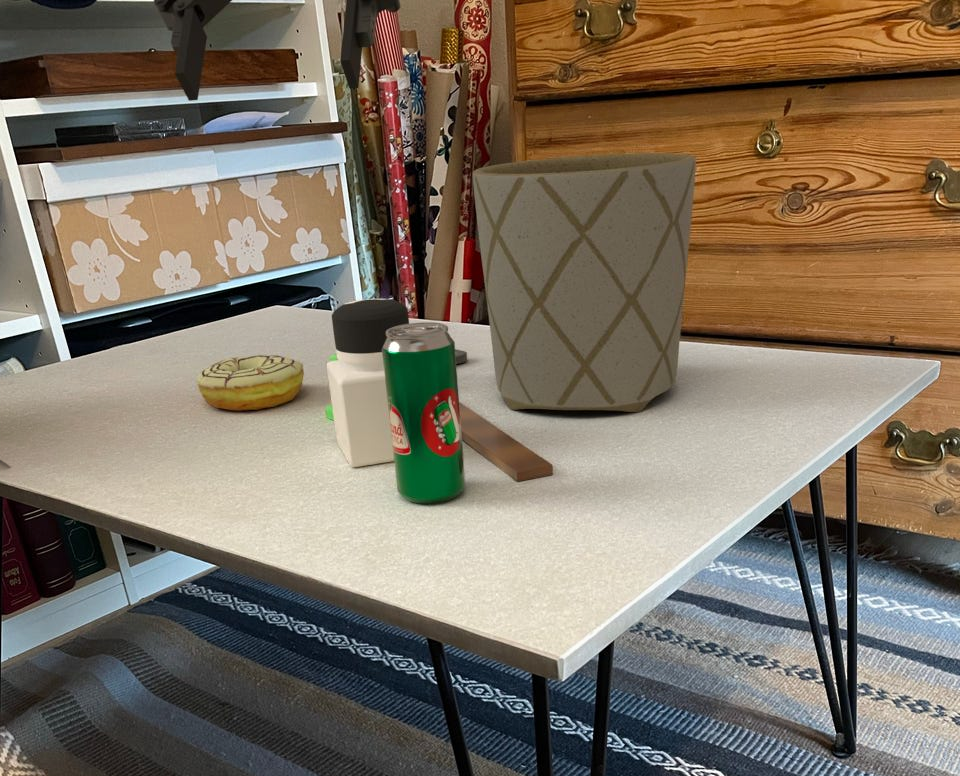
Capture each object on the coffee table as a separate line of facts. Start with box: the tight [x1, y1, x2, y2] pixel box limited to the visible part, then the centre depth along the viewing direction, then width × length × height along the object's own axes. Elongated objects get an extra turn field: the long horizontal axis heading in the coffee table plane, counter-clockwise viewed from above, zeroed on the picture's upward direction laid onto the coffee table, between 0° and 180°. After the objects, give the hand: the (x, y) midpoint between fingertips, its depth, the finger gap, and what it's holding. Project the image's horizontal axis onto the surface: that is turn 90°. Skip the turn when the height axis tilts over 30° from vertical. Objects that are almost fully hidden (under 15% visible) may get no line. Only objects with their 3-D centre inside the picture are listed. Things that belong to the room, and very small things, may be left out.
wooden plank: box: [459, 401, 554, 482], centre depth 85 cm, size 26×3×1 cm, turn 22°
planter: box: [472, 152, 697, 413], centre depth 89 cm, size 19×19×20 cm
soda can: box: [382, 321, 466, 505], centre depth 70 cm, size 5×5×12 cm
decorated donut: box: [196, 354, 305, 412], centre depth 99 cm, size 10×11×4 cm
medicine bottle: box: [326, 298, 410, 468], centre depth 80 cm, size 7×7×12 cm
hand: (266, 81), depth 78 cm, fingers open, 13 cm apart
